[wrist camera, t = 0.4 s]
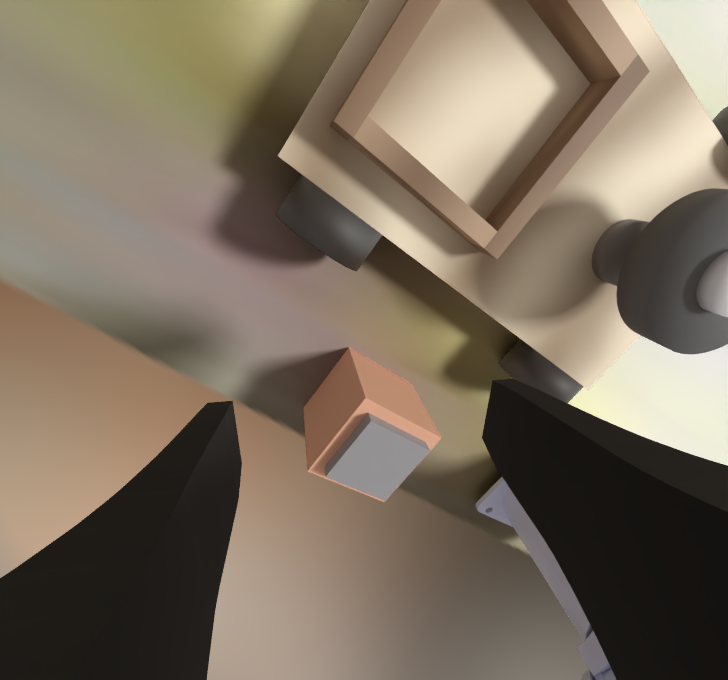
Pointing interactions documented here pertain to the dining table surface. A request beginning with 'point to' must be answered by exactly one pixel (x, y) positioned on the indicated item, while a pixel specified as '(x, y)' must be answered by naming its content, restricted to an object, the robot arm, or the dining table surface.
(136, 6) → the dining table surface
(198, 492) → the robot arm
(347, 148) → the chassis
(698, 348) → the spare wheel
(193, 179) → the dining table surface
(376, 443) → the orange rectangular block
